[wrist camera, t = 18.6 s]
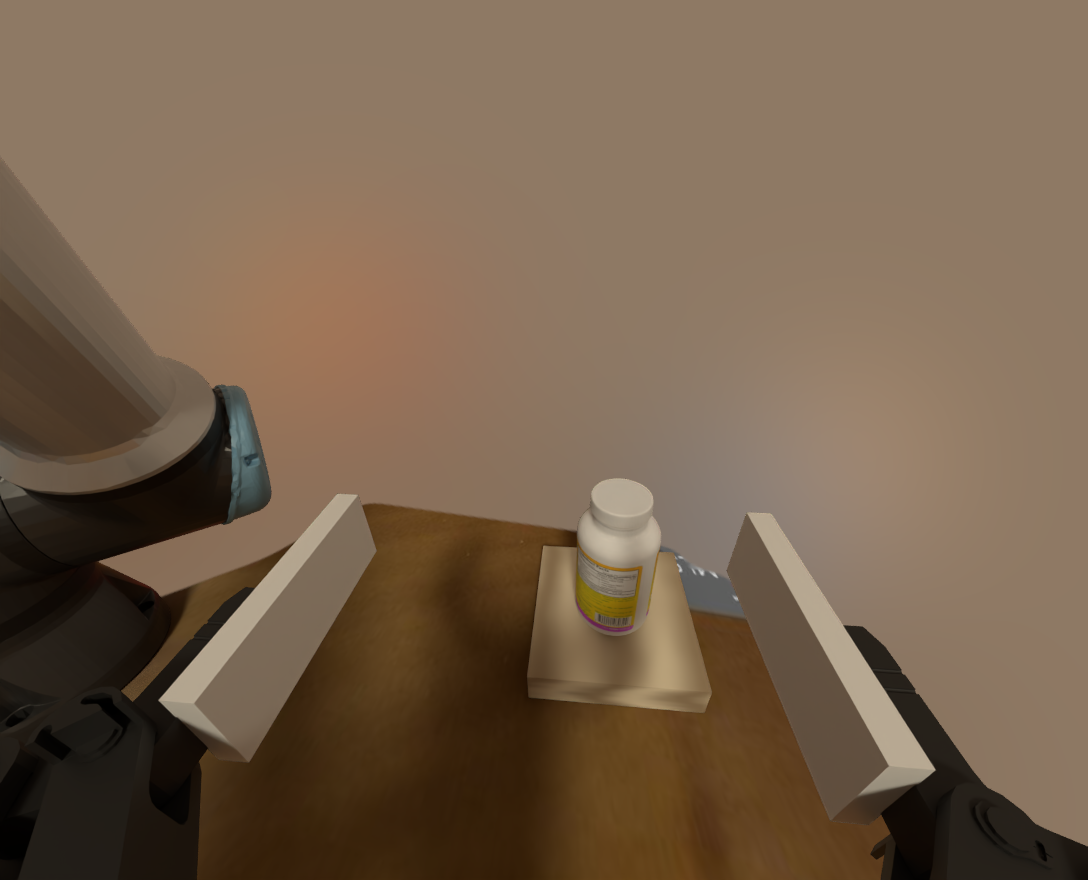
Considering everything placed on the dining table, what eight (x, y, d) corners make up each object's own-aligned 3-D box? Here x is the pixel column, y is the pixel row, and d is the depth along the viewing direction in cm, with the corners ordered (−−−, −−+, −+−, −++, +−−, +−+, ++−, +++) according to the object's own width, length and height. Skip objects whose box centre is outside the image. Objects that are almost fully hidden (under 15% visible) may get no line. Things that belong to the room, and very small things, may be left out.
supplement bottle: (612, 566, 39) (624, 461, 33) (663, 613, 34) (687, 501, 28) (560, 598, 36) (561, 488, 30) (607, 655, 31) (621, 539, 25)
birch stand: (528, 697, 31) (527, 677, 30) (543, 565, 43) (543, 545, 42) (704, 713, 30) (711, 692, 29) (669, 572, 42) (673, 552, 41)
